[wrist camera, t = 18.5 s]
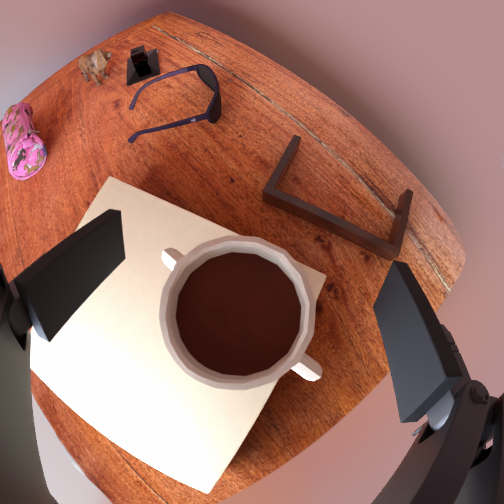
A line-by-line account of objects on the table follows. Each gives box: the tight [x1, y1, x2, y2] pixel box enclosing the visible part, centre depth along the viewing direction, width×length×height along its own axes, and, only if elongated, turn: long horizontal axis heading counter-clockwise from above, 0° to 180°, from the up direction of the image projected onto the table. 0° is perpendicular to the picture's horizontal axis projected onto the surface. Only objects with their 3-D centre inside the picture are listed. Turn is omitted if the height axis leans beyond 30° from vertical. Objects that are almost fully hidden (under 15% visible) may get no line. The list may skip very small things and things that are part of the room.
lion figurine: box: [78, 49, 111, 86], centre depth 39 cm, size 15×5×9 cm, turn 60°
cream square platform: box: [31, 176, 327, 494], centre depth 26 cm, size 27×26×6 cm
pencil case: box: [2, 102, 47, 181], centre depth 35 cm, size 21×9×9 cm, turn 44°
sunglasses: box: [128, 64, 221, 143], centre depth 36 cm, size 14×16×5 cm
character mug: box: [159, 235, 323, 391], centre depth 18 cm, size 11×7×13 cm, turn 51°
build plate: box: [127, 45, 160, 86], centre depth 41 cm, size 12×7×5 cm, turn 18°
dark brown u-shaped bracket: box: [262, 135, 413, 261], centre depth 33 cm, size 18×10×2 cm, turn 64°
